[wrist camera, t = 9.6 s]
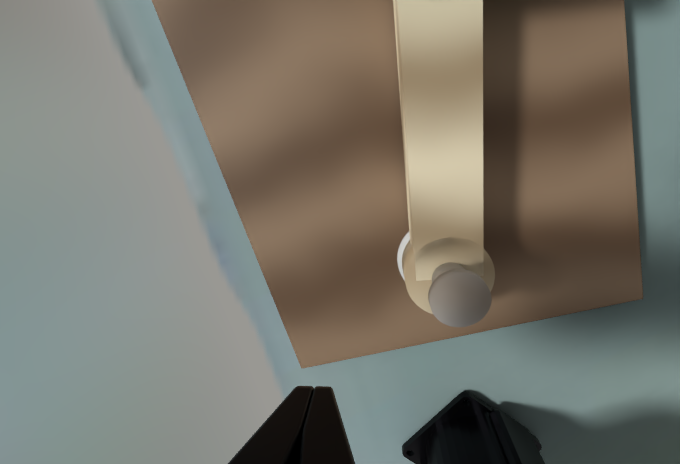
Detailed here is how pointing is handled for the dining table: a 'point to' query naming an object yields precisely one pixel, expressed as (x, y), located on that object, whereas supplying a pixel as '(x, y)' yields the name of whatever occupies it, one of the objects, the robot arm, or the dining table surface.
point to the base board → (389, 168)
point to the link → (444, 157)
